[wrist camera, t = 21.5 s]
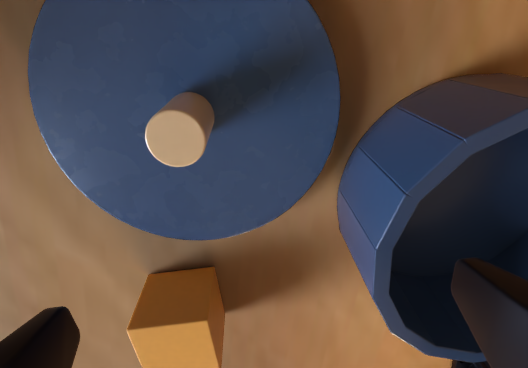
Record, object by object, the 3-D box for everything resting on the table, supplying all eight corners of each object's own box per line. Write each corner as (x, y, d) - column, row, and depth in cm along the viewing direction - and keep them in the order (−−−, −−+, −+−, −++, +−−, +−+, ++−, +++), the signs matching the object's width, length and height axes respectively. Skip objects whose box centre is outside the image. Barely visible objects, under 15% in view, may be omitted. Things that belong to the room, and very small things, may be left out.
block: (225, 313, 24) (221, 373, 20) (164, 321, 24) (147, 381, 20) (214, 265, 22) (207, 320, 18) (148, 273, 22) (125, 330, 18)
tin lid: (336, 214, 21) (362, 268, 16) (100, 243, 21) (57, 305, 16) (332, -85, 14) (377, -144, 9) (-16, -44, 14) (-148, -82, 9)
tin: (530, 266, 24) (625, 344, 18) (337, 290, 24) (368, 375, 18) (599, 59, 17) (779, 73, 11) (336, 90, 17) (382, 120, 11)
